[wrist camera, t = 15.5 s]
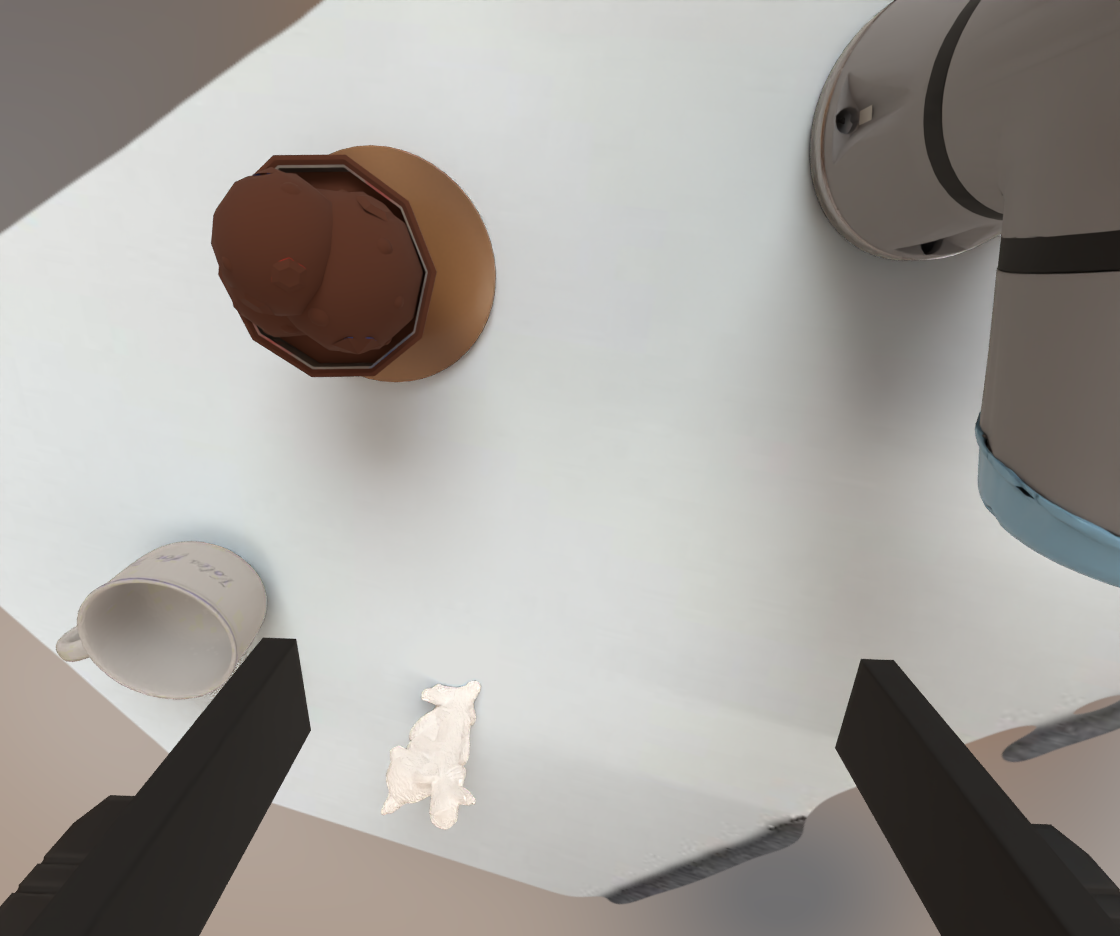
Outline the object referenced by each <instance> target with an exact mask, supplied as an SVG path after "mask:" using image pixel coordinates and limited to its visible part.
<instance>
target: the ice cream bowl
mask: <svg viewBox="0 0 1120 936" xmlns="http://www.w3.org/2000/svg"><path fill="white" fill-rule="evenodd" d="M211 244H212V247H213V250H214V253H215V256H216V259H217V262H218V264H219V273H218V275H219V277H220V279H221V281H222V282H223V284H224V286H225V288H226V290H227V292H228V294H229V296H230V298H231V299H232V302H233V306H234V308H235V309H236V310H237V311H238V313H239V315H240V317H241V318H242V320H243V322H244V324H245V326H246V328H247V330H248V332H249V334H250V336H251V337H252V339H253V340H254V341H256V342H257V343H259V344H260V345H262V346H263V347H265V348H267V349H268V350H270V351H271V352H273V353H275V354H276V355H278V356H279V357H281V358H282V359H284V360H286V361H287V362H289V363H290V364H292V365H293V366H295V367H297V368H298V369H300V370H301V371H303V372H305V373H306V374H308V375H309V376H311V377H351V376H376V375H377V374H378V373H379V372H381V371H382V370H383V369H384V368H386V367H387V366H388V365H389V364H390V363H392V362H393V361H394V360H395V359H397V358H398V357H399V356H400V355H401V354H403V353H404V352H405V351H406V350H408V349H409V348H410V347H411V346H413V345H414V344H415V343H416V342H417V341H419V340H420V339H421V338H422V336H423V333H424V329H425V324H426V319H427V315H428V310H429V306H430V301H431V297H432V292H433V288H434V283H435V278H436V274H437V271H436V268H435V266H434V263H433V261H432V258H431V255H430V253H429V250H428V248H427V245H426V243H425V240H424V238H423V235H422V233H421V230H420V227H419V225H418V222H417V220H416V217H415V215H414V212H413V210H412V207H411V205H410V203H409V201H408V200H407V199H405V198H404V197H402V196H401V195H400V194H398V193H397V192H396V191H394V190H393V189H392V188H390V187H389V186H388V185H386V184H385V183H383V182H382V181H381V180H379V179H378V178H377V177H375V176H374V175H373V174H371V173H370V172H369V171H367V170H366V169H364V168H363V167H362V166H360V165H359V164H358V163H356V162H355V161H354V160H352V159H351V158H350V157H348V156H347V155H273V156H272V157H271V158H270V159H269V160H268V161H267V162H266V163H265V164H264V165H263V166H262V167H261V168H260V169H259V170H258V171H257V172H256V173H255V174H253V176H247V177H245V178H243V179H241V180H239V181H236V182H235V183H234V184H233V186H232V187H231V188H230V190H229V191H228V193H227V194H226V196H225V197H224V199H223V200H222V201H221V203H220V204H219V206H218V207H217V209H216V211H215V213H214V215H213V228H212V240H211Z"/></svg>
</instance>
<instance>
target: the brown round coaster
mask: <svg viewBox="0 0 1120 936" xmlns="http://www.w3.org/2000/svg"><path fill="white" fill-rule="evenodd" d="M329 155H347V156H348V157H350V158H351V159H352V160H354V161H355V162H356V163H358V164H359V165H360V166H362V167H363V168H364V169H366V170H367V171H369V172H370V173H371V174H373V175H374V176H375V177H377V178H378V179H379V180H381V181H382V182H383V183H385V184H386V185H388V186H389V187H390V188H392V189H393V190H394V191H396V192H397V193H398V194H400V195H401V196H402V197H404V198H405V199H407V200H408V201H409V203H410V205H411V207H412V210H413V212H414V215H415V217H416V220H417V222H418V225H419V227H420V230H421V233H422V235H423V238H424V240H425V243H426V245H427V248H428V250H429V253H430V255H431V258H432V261H433V263H434V266H435V268H436V271H437V274H436V278H435V283H434V288H433V292H432V297H431V301H430V306H429V310H428V315H427V319H426V324H425V329H424V333H423V336H422V338H421V339H420V340H419V341H417V342H416V343H415V344H414V345H413V346H411V347H410V348H409V349H408V350H406V351H405V352H404V353H403V354H401V355H400V356H399V357H398V358H397V359H395V360H394V361H393V362H392V363H390V364H389V365H388V366H387V367H386V368H384V369H383V370H382V371H381V372H379V373H378V374H377V375H376V376H362V377H365V378H368V379H373V380H378V381H386V382H406V381H413V380H418V379H423V378H426V377H429V376H432V375H434V374H436V373H438V372H440V371H442V370H444V369H446V368H448V367H449V366H451V365H452V364H453V363H455V362H456V361H458V360H459V359H460V358H461V357H462V356H463V355H464V354H465V353H466V352H467V351H468V350H469V349H470V348H471V347H472V345H473V344H474V343H475V342H476V340H477V339H478V337H479V335H480V334H481V332H482V331H483V329H484V327H485V324H486V322H487V320H488V317H489V315H490V311H491V308H492V304H493V300H494V293H495V281H496V270H495V260H494V254H493V250H492V245H491V241H490V238H489V235H488V233H487V230H486V227H485V225H484V223H483V221H482V219H481V217H480V215H479V213H478V211H477V209H476V208H475V206H474V205H473V203H472V202H471V200H470V199H469V197H468V196H467V195H466V194H465V193H464V191H463V190H462V189H461V188H460V187H459V186H458V185H457V184H456V183H455V182H454V181H453V180H452V179H451V178H450V177H449V176H448V175H447V174H445V173H444V172H443V171H441V170H440V169H439V168H437V167H436V166H434V165H433V164H432V163H430V162H428V161H426V160H424V159H422V158H420V157H419V156H416V155H414V154H411V153H409V152H406V151H403V150H400V149H395V148H391V147H386V146H373V145H369V146H355V147H351V148H346V149H342V150H339V151H336V152H334V153H331V154H329Z"/></svg>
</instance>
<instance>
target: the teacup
mask: <svg viewBox="0 0 1120 936" xmlns="http://www.w3.org/2000/svg"><path fill="white" fill-rule="evenodd" d="M266 609H267V597H266V592H265V588H264V586H263V583H262V581H261V579H260V577H259V576H258V574H257V573H256V572H255V570H254V569H253V568H252V567H251V566H250V565H249V564H248V563H247V562H246V561H245V560H244V559H242V558H241V557H240V556H238V555H237V554H235V553H233V552H231V551H230V550H228V549H225V548H223V547H220V546H217V545H214V544H210V543H205V542H197V541H187V542H176V543H172V544H168V545H165V546H162V547H159V548H157V549H155V550H153V551H151V552H149V553H147V554H146V555H144V556H142V557H141V558H139V559H138V560H137V561H135V562H134V563H132V564H131V565H130V566H128V567H127V568H126V569H124V570H123V571H122V572H120V573H119V574H118V575H116V576H115V577H114V578H113V579H111V580H110V581H109V582H108V583H106V584H104V585H102V586H100V587H98V588H97V589H95V590H94V591H92V592H91V593H90V594H89V595H88V596H87V597H86V599H85V600H84V602H83V603H82V604H81V606H80V609H79V611H78V617H77V626H76V627H74V628H72V629H71V630H70V631H68V632H67V633H65V634H64V635H63V636H62V637H61V638H60V639H59V640H58V642H57V644H56V651H57V653H58V654H59V656H60V657H61V658H62V659H63V660H65V661H69V662H74V661H80V660H83V659H86V658H89V657H90V658H91V660H92V661H93V662H94V663H95V664H96V665H97V666H98V667H99V668H100V669H101V670H102V671H103V672H105V673H106V674H107V675H108V676H109V677H111V678H112V679H113V680H115V681H116V682H118V683H119V684H121V685H123V686H125V687H127V688H129V689H132V690H135V691H137V692H140V693H143V694H146V695H149V696H154V697H158V698H166V699H189V698H195V697H200V696H203V695H206V694H208V693H210V692H212V691H214V690H216V689H217V688H219V687H220V686H222V685H223V684H224V683H225V682H226V681H227V680H228V678H229V677H230V676H231V674H232V673H233V671H234V669H235V666H236V664H237V663H238V661H239V660H240V659H241V657H242V656H243V654H244V653H245V651H246V650H247V648H248V647H249V645H250V644H251V643H252V641H253V639H254V638H255V636H256V635H257V633H258V631H259V629H260V627H261V625H262V623H263V621H264V617H265V614H266Z"/></svg>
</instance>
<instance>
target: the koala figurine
mask: <svg viewBox="0 0 1120 936" xmlns="http://www.w3.org/2000/svg"><path fill="white" fill-rule="evenodd" d="M480 689H481V685H480V684H479V683H478V682H477V681H470V682H469V683H468V684H467V685H466V686H462V687H459V688H457V687H456V688H455V687H449V686H443V685H441V684H437V685H435V686H434V687H433V688H428V689H425V690H424V691H423V692H422V695H421V697H422V700H424V701H427V702H429V703H432V704H434V705H436V706H435V708H434V709H433V710H432V711H430V712H429V713H427V714H426V715H424V716H423V717H421V718H420V719H419V720H418V721H417V722H416V723H415V725H414V726H413V728H412V729H411V731H410V734H409V739H410V741H411V742H410V743H409V744H408V746H407V748H406V749H405V748H403V747H401V746H400V745H399V746H397V747H395V748H392V749H391V751H390V759H391V763H390V766H389V769H388V771H387V773H386V777H387V778H386V782H387V786H388V788H389V795H388V798H387V800H386V801H385V803H384V806H383V807H382V810H381V814H382V815H385V814H388V813H393V812H394V811H395V810H397V809H398V808H400V807H401V806H402V805H403V804H405V803H416V802H418V801H420V800H423V799H425V798H426V797H428V796H431V803H430V811H429V814H430V818H431V821H432V823H433V824H434V825H435V826H436V827H438V828H442V829H445V830H446V829H449V828H450V827H451V826H452V825H453V824H454V823H455V822H456V821H457V816H458V807H459V804H464V805H467V806H469V805H470V804H473V805H474V804H475V801H476V799H475V798H474V796H473V795H472V794H471V793H470V792H469V790H467V789H466V788H463V787H462V786H463V783H464V779H465V777H466V769H465V767H463V766H464V765H465V764H466V762H467V760H468V758H469V754H470V753H469V749H470V743H469V740H470V734H469V732H470V726H472V725H473V724H474V723H475V719H476V714H475V710H474V708H473V707H474V703H473V702H474V701H475V699H476V697H477V695H478V694H479V692H480Z"/></svg>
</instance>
